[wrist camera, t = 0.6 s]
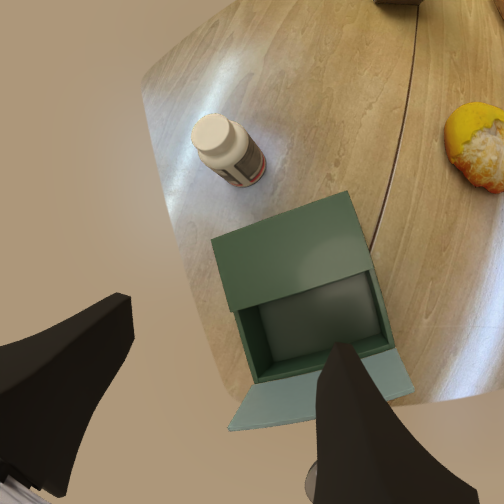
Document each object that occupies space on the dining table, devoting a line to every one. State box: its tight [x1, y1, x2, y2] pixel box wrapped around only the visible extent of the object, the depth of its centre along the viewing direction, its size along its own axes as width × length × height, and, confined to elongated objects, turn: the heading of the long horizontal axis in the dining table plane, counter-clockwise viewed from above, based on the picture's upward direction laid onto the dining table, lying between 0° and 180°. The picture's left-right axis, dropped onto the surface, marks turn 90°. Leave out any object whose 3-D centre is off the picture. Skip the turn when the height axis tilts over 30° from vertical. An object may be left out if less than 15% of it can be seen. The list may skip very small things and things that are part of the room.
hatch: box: [227, 348, 415, 431], centre depth 20 cm, size 7×13×1 cm
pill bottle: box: [191, 113, 266, 187], centre depth 31 cm, size 5×5×10 cm
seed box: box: [211, 191, 395, 384], centre depth 28 cm, size 14×13×7 cm
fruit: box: [444, 102, 504, 194], centre depth 24 cm, size 11×10×8 cm
